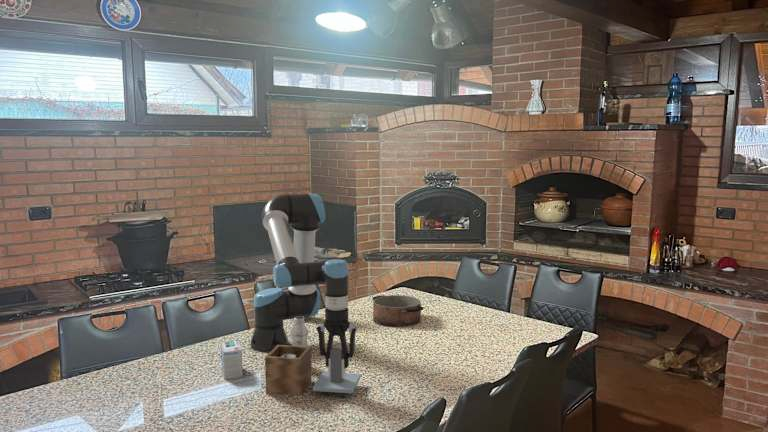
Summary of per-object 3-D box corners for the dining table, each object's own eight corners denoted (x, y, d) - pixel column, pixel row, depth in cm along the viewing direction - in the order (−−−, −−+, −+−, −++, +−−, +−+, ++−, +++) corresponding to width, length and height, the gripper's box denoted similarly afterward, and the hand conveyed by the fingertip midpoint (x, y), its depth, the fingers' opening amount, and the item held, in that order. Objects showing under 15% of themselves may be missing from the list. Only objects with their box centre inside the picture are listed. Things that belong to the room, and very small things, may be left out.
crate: (266, 396, 186) (265, 357, 185) (278, 382, 198) (277, 344, 196) (301, 399, 184) (300, 359, 183) (311, 384, 196) (310, 346, 195)
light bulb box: (221, 370, 209) (220, 342, 207) (239, 368, 211) (238, 340, 210) (223, 381, 199) (222, 351, 198) (243, 378, 201) (242, 349, 200)
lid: (312, 393, 182) (312, 354, 180) (323, 377, 194) (323, 340, 193) (352, 395, 180) (352, 356, 178) (360, 379, 192) (360, 342, 191)
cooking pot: (358, 320, 271) (358, 298, 270) (393, 312, 285) (393, 291, 284) (400, 336, 248) (400, 312, 247) (436, 326, 262) (436, 303, 261)
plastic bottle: (292, 374, 205) (291, 320, 203) (290, 367, 211) (289, 315, 209) (310, 372, 207) (309, 319, 204) (307, 365, 213) (306, 314, 211)
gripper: (308, 309, 182) (309, 379, 184) (359, 311, 179) (359, 382, 182) (315, 303, 189) (316, 370, 192) (364, 305, 187) (364, 373, 189)
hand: (337, 376), depth 187 cm, fingers closed on lid, 4 cm apart
